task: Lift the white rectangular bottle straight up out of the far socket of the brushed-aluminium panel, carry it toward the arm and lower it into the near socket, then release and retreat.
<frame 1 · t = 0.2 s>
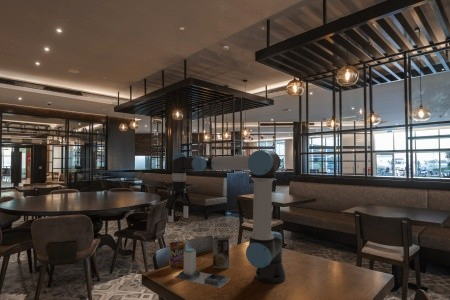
hand: (178, 219, 155), 27 cm above the table, fingers open, 13 cm apart
coffee box: (221, 267, 158), on the table
white rectangular bottle: (189, 275, 145), resting on panel
candy box: (177, 269, 155), on the table
panel: (202, 278, 142), on the table
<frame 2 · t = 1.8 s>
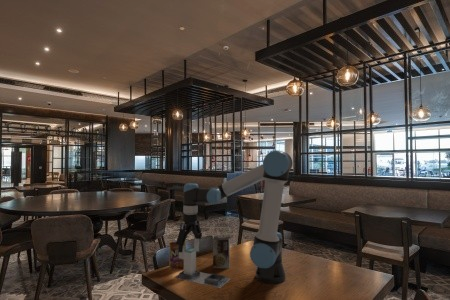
hand: (189, 254, 146), 11 cm above the table, fingers open, 13 cm apart
nothing on the table moved.
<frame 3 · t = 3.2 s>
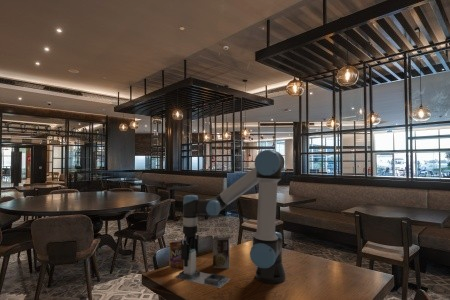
hand: (189, 270, 145), 3 cm above the table, fingers closed on white rectangular bottle, 4 cm apart
white rectangular bottle: (189, 275, 145), point 1 cm above the table, touching gripper, panel
everything else where it was.
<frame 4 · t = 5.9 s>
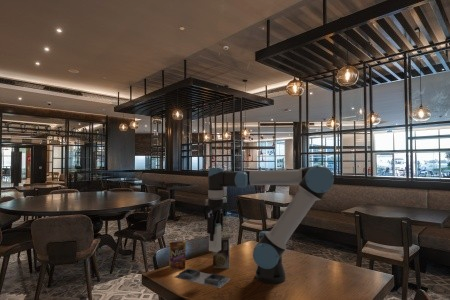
hand: (215, 245, 139), 17 cm above the table, fingers closed on white rectangular bottle, 4 cm apart
white rectangular bottle: (215, 250, 139), point 15 cm above the table, touching gripper
everything else where it was.
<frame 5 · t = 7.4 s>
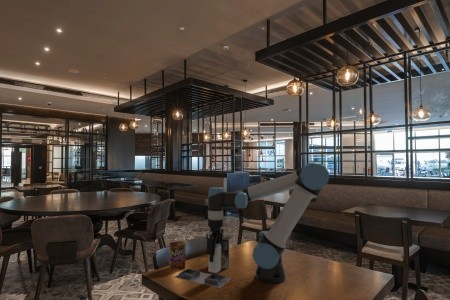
hand: (214, 266, 139), 7 cm above the table, fingers closed on white rectangular bottle, 4 cm apart
white rectangular bottle: (214, 270, 139), point 5 cm above the table, touching gripper
everything else where it was.
when the fingers open (4 cm above the table, at t = 8.4 s): white rectangular bottle drops 1 cm, resting on panel.
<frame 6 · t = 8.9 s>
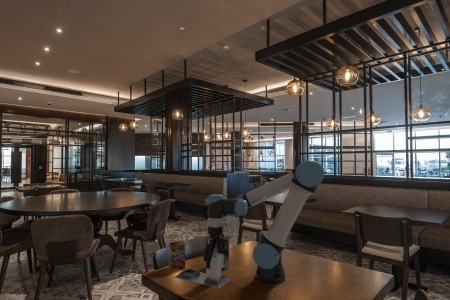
hand: (215, 270, 139), 5 cm above the table, fingers open, 11 cm apart
white rectangular bottle: (215, 280, 138), point 1 cm above the table, touching panel
everything else where it was.
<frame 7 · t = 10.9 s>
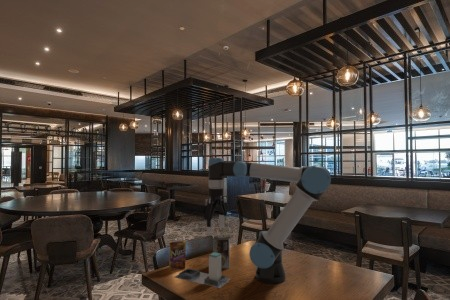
hand: (215, 230, 142), 24 cm above the table, fingers open, 13 cm apart
nothing on the table moved.
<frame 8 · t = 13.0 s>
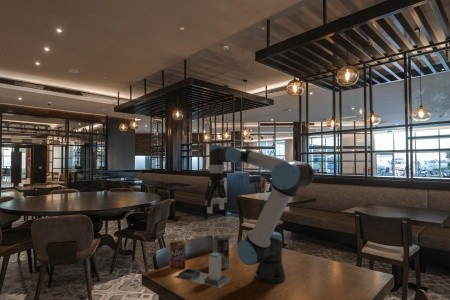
hand: (215, 211, 156), 32 cm above the table, fingers open, 13 cm apart
nothing on the table moved.
at the end: white rectangular bottle 0.0 cm from the target spot on the panel, point 0.5 cm above the panel's base; white rectangular bottle tilted 0°; the gripper is holding nothing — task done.
